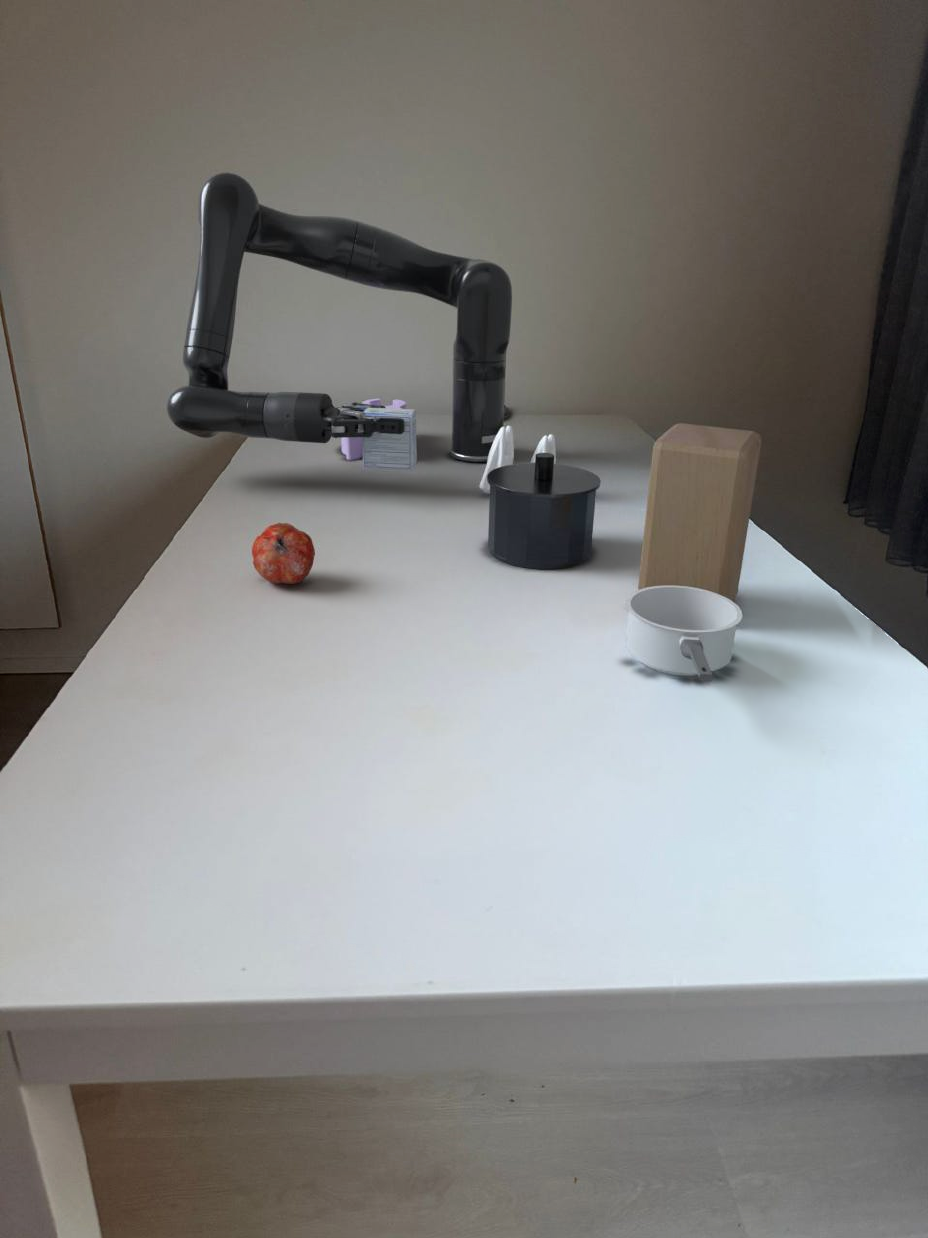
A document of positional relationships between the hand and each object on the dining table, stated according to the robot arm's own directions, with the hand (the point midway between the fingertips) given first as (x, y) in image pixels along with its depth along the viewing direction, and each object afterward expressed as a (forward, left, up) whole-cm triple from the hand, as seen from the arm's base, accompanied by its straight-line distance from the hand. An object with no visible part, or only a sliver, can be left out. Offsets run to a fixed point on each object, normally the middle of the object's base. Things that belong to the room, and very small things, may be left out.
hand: (406, 422), depth 139 cm
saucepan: (+55, +38, -11) cm, 68 cm away
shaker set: (-2, +17, -11) cm, 21 cm away
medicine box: (0, -3, -7) cm, 8 cm away
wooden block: (+37, +40, -11) cm, 56 cm away
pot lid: (+22, +22, -2) cm, 31 cm away
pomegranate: (+38, -8, -11) cm, 40 cm away
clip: (-28, -11, -11) cm, 32 cm away
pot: (+22, +22, -11) cm, 33 cm away
